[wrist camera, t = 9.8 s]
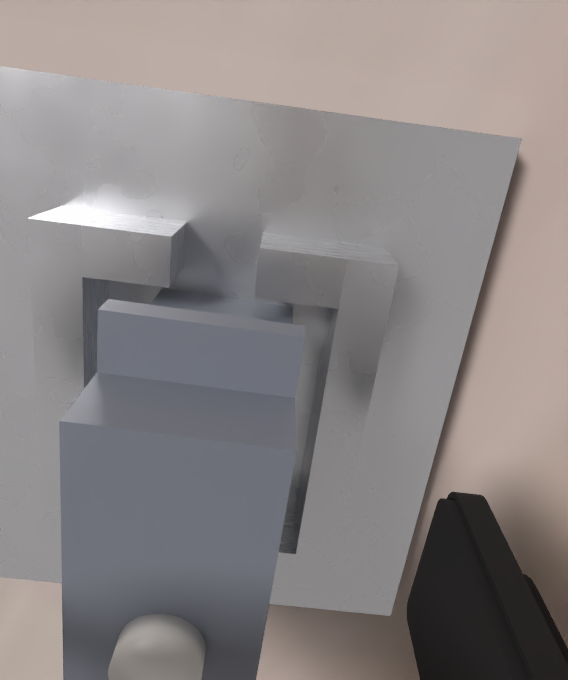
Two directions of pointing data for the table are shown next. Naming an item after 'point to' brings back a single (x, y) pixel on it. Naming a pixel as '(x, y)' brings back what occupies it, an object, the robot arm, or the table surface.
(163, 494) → the block
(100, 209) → the plate
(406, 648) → the table surface
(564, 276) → the table surface
